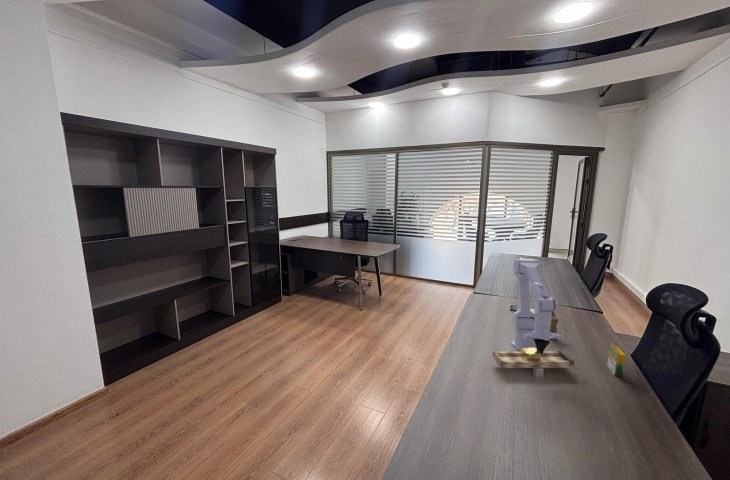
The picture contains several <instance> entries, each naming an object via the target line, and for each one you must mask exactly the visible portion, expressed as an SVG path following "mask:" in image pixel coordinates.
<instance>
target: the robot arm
mask: <svg viewBox="0 0 730 480" xmlns="http://www.w3.org/2000/svg"><path fill="white" fill-rule="evenodd" d="M539 268H540V262H539V261H538V259H536V258H534V259H532V258H531V259H529V258H528V259H527V258H515V260H514V261H513V275H514V276H515V277H517V290H518V293H517V294H518V310H516V311H514V312H513V313H512V320H511V321H512V322H511V323H512V326H513V329H515V334H514V340H513V341H510V343H511V344H512V345H513V346H514V347H515V349H517V350H518V352H521V348H536V349H537V350H538V351H539V352H540V353H541V355H542V353H543V351H545V350H546V348H547V346H549V344H550V340H560V338H561V335H560V334H559V333H558V332H557V333H550V326H551V317H552V314H553V312H555V311H556V307H557V306H556V305H557V304H556V301H555V298H554V297H552V296H551V295H550V294H549V293H548V290H547V287H546V286H545V284H544V283H542V281H541V279H540V275H539V270H540V269H539ZM530 284H531V285H530ZM530 291H531V294H532V297H533V299H534V301H533V304H534V305H533V307H534V312H533V311H531V302H530V301H531V299H530V298H531V297H530Z"/></svg>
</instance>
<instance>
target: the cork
mask: <svg viewBox="0 0 730 480" xmlns="http://www.w3.org/2000/svg"><path fill="white" fill-rule="evenodd" d="M558 323H559V319H558V318H557V316H554V315H553V316H552V317H551V326H550V333H557V334H558V328H557V324H558Z"/></svg>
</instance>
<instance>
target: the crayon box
mask: <svg viewBox="0 0 730 480" xmlns="http://www.w3.org/2000/svg"><path fill="white" fill-rule="evenodd" d="M625 363H626V354H625V353H624V352H623V351H622V350H621V349H620V348H619V347H618V346H615V345H614V343H613V342H610V345H609V351H608V357H607V365H606V367H607V368H608V369H609V371H610V372H611V373H612V374H613V376H616V377H620V378H621V377H623V374H624V369H625Z"/></svg>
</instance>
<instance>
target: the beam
mask: <svg viewBox="0 0 730 480" xmlns="http://www.w3.org/2000/svg"><path fill="white" fill-rule="evenodd" d="M520 354H521V351H496V350H494V349H493V350H492V356H491V357H492V359H493V360H494V361H495V362H496V364H497V365H498V367H499V368H500V369H534V367H542V368H543V369H545V368H546V369H547V368H548V369H549V368H550V369H551V368H552V369H555V368H557V369H560V368H562V369H566V368H571V369H572V368H575V363H576V360H575V359H574V358H572V356H570V355H569V354H568V353H567V352H565V351H564V349H563V350H562V349H558V350H557V351H555V350H554V351H549V350H547V351H545V350H544V351H543V353H542V355H541V361H525V360H524V359H523V358H522V357H521V356H520Z"/></svg>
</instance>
